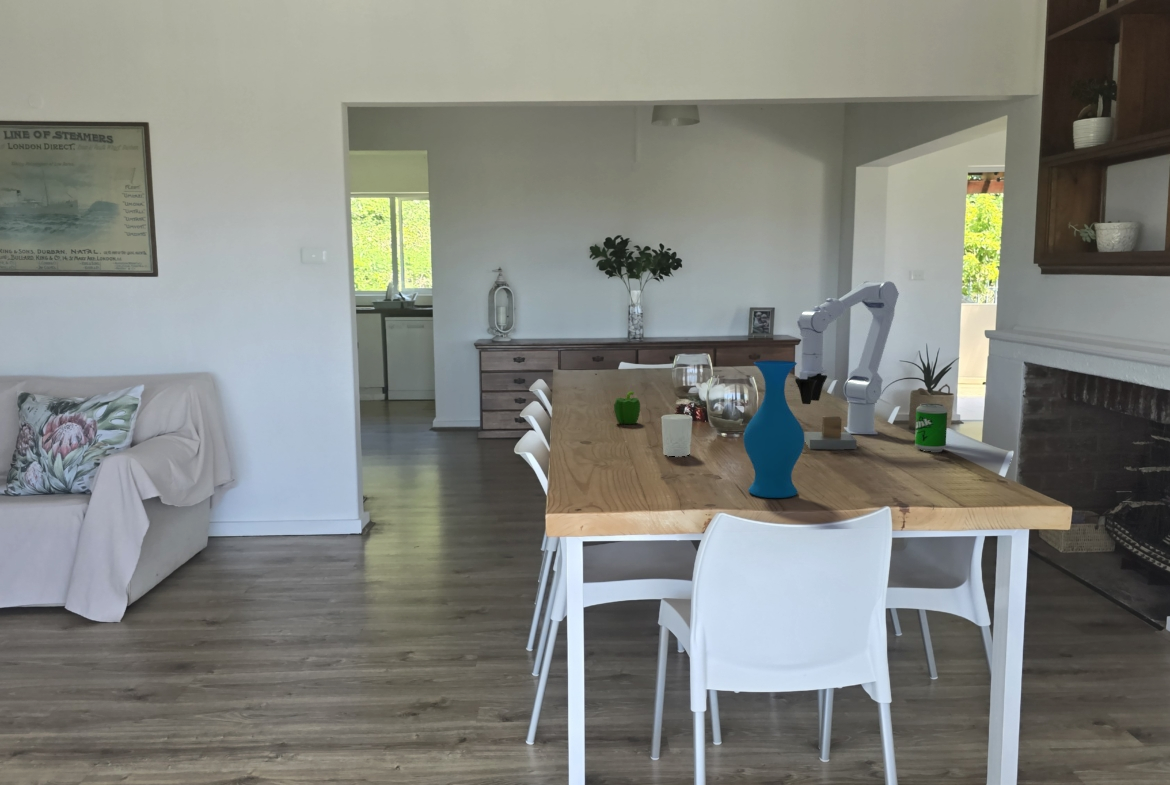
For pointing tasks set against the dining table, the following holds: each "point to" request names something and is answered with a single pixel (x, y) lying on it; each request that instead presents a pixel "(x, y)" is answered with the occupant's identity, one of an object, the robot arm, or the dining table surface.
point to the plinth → (829, 441)
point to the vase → (774, 436)
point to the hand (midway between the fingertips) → (810, 402)
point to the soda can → (931, 427)
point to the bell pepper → (627, 409)
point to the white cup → (676, 434)
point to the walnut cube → (831, 426)
